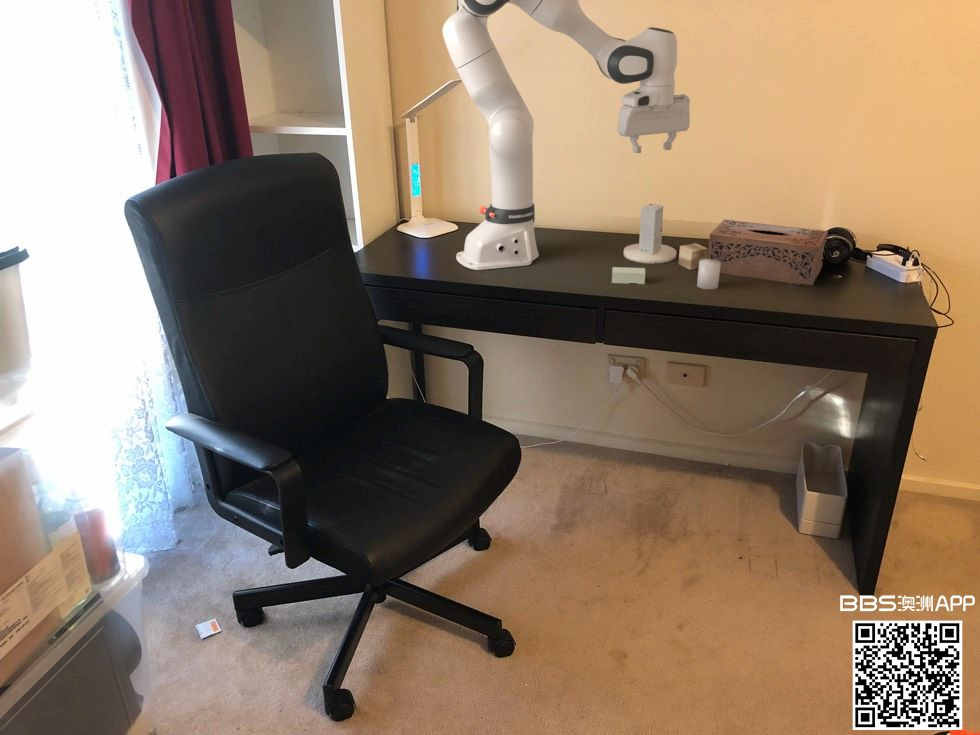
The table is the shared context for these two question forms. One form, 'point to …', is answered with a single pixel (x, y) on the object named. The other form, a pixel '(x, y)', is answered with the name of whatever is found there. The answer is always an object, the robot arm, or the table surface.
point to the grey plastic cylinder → (708, 274)
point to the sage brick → (628, 275)
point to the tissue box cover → (768, 251)
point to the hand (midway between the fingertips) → (652, 151)
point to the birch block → (692, 255)
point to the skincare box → (651, 229)
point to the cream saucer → (659, 257)
